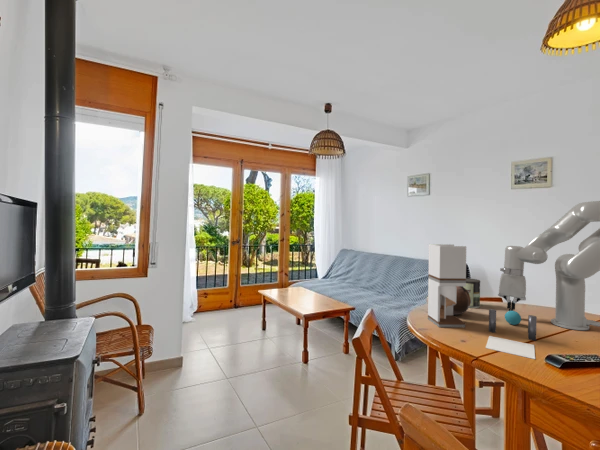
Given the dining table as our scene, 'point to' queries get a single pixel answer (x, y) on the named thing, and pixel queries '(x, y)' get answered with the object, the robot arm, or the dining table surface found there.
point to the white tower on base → (445, 282)
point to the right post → (532, 327)
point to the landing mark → (511, 347)
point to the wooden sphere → (461, 301)
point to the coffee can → (473, 291)
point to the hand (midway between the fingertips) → (510, 310)
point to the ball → (513, 317)
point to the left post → (492, 320)
